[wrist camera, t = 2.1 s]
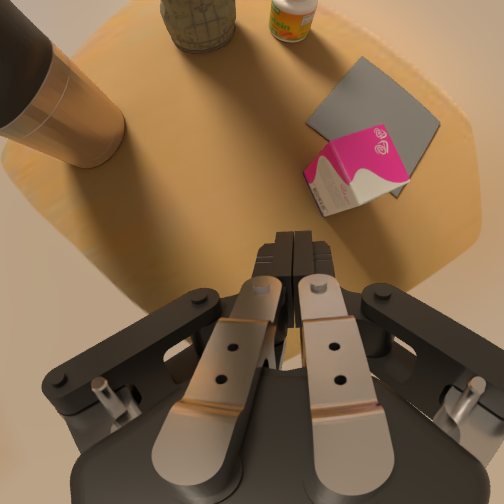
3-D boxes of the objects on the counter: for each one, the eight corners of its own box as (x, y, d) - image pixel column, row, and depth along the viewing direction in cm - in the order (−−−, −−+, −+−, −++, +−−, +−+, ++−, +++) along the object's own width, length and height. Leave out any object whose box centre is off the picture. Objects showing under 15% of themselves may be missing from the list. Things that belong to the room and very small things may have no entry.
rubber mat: (305, 123, 34) (305, 122, 33) (361, 57, 33) (361, 55, 33) (395, 197, 34) (396, 196, 34) (439, 122, 34) (440, 122, 34)
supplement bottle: (260, 28, 33) (263, -20, 23) (287, 11, 33) (295, -35, 23) (290, 49, 33) (301, 3, 24) (316, 31, 33) (331, -13, 23)
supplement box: (365, 198, 34) (413, 183, 23) (322, 218, 34) (356, 209, 23) (345, 153, 34) (384, 121, 23) (301, 171, 34) (325, 141, 23)
